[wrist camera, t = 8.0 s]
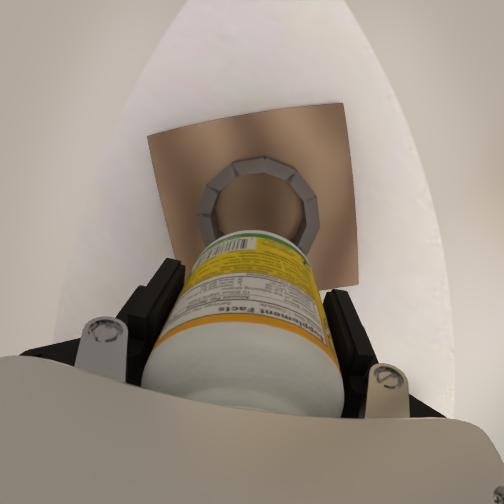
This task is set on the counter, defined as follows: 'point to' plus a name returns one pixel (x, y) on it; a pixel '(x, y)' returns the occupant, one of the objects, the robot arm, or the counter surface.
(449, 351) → the counter surface
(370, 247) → the counter surface
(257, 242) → the supplement bottle
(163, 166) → the stand board
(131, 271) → the counter surface
